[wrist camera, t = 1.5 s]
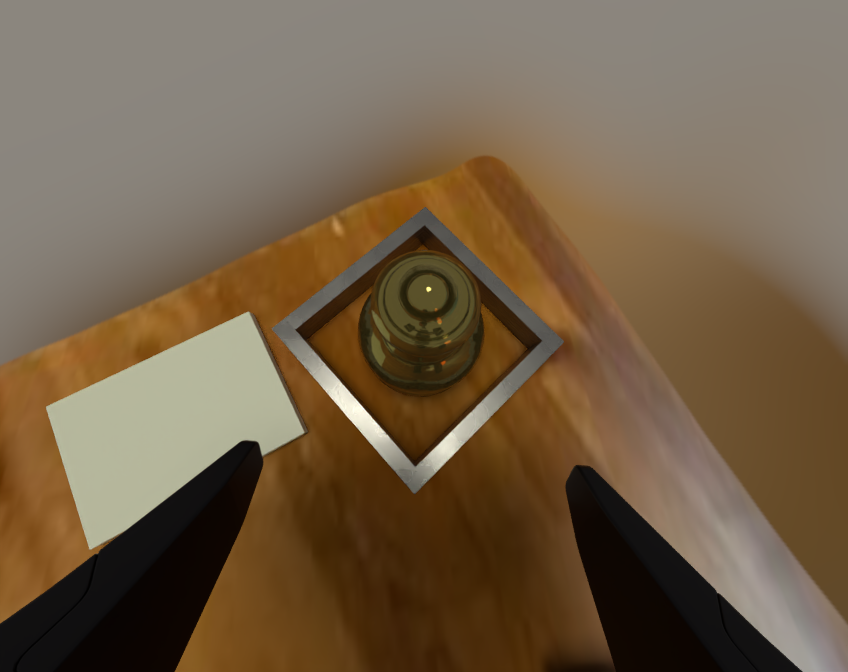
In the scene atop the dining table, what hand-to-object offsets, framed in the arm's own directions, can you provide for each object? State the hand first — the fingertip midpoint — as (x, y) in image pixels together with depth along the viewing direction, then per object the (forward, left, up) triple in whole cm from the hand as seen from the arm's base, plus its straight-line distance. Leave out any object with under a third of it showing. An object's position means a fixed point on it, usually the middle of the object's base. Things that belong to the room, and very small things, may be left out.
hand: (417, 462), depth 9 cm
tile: (+11, +10, -13) cm, 19 cm away
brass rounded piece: (+4, -5, -13) cm, 14 cm away
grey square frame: (+4, -5, -13) cm, 14 cm away
